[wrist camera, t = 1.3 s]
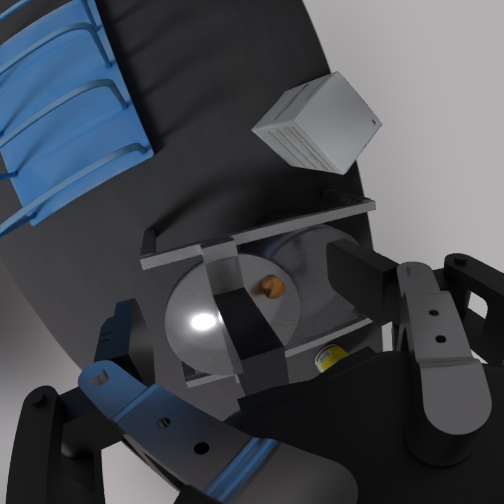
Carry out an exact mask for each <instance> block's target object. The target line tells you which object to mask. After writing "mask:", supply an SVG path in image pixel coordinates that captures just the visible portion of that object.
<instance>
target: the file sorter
mask: <svg viewBox="0 0 504 504" xmlns="http://www.w3.org/2000/svg"><path fill="white" fill-rule="evenodd" d="M30 1H32V0H21V1H19V2H18V3H16V4H15V5H13V6H12V7H11V8H9V9H8V10H6V11H5V12H4V13H2V14H1V15H0V22H1V21H2V20H3V19H5V18H6V17H8V16H9V15H10V14H12V13H13V12H15V11H16V10H18V9H19V8H21V7H22V6H24V5H25V4H27V3H29V2H30ZM0 151H1V154H2V157H3V160H4V162H5V165H6V168H7V170H8V173H5V174H0V180H3V179H8V178H11V181H12V183H13V186H14V188H15V190H16V193H17V195H18V197H19V200H20V202H21V204H22V206H23V208H22V209H20V210H19V211H18V212H16V213H15V214H14V215H13V216H11V217H10V218H9V219H7V220H6V221H5V222H4V223H2V224H1V225H0V238H1V237H3V236H4V235H6V234H8V233H9V232H11V231H13V230H14V229H16V228H18V227H20V226H21V225H23V224H25V223H27V222H29V221H30V223H31V225H32V226H34V225H36V224H38V223H40V222H41V221H43V220H44V219H45V218H47V217H48V216H50V215H51V214H53V213H54V212H56V211H57V210H59V209H61V208H62V207H64V206H65V205H67V204H68V203H70V202H72V201H73V200H75V199H77V198H78V197H80V196H82V195H83V194H85V193H87V192H88V191H90V190H92V189H93V188H95V187H97V186H99V185H100V184H102V183H104V182H106V181H107V180H109V179H111V178H113V177H115V176H117V175H118V174H120V173H122V172H124V171H126V170H128V169H130V168H132V167H134V166H136V165H138V164H140V163H142V162H144V161H146V160H148V159H150V158H152V157H154V151H153V149H152V146H151V144H150V142H149V140H148V137H147V135H146V133H145V130H144V128H143V126H142V123H141V121H140V119H139V116H138V114H137V111H136V109H135V107H134V104H133V102H132V99H131V97H130V94H129V92H128V89H127V87H126V84H125V82H124V79H123V77H122V74H121V72H120V69H119V66H118V64H117V61H116V59H115V56H114V53H113V51H112V48H111V45H110V43H109V40H108V37H107V34H106V32H105V29H104V26H103V23H102V20H101V17H100V15H99V12H98V9H97V6H96V3H95V0H73V1H71V2H69V3H67V4H65V5H63V6H61V7H60V8H58V9H56V10H54V11H52V12H51V13H49V14H47V15H45V16H44V17H42V18H40V19H39V20H37V21H36V22H34V23H32V24H31V25H29V26H28V27H26V28H25V29H23V30H22V31H20V32H19V33H17V34H16V35H14V36H13V37H12V38H10V39H9V40H7V41H6V42H5V43H3V44H2V45H1V46H0ZM24 215H27V217H25V218H24V219H22V220H20V221H18V220H19V219H20V218H22V217H23V216H24ZM16 221H18V222H16ZM15 222H16V223H15Z"/></svg>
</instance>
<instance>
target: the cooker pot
mask: <svg viewBox="0 0 504 504" xmlns="http://www.w3.org/2000/svg"><path fill="white" fill-rule="evenodd" d="M322 196H323V198H324V199H327V200H331V201H334V202H337V203H340V204H343V205H345V206H341V207H336V208H332V209H328V210H324V211H319V212H315V213H311V214H307V215H305V214H303V213H300V212H297V211H279V212H276V213H272V214H270V215H268V216H266V217H264V218H263V219H261V220H260V221H259V222H257V223H256V224H255V225H254V226H253V227H252V228H249V229H245V230H241V231H237V232H233V233H229V234H225V235H221V236H217V237H214V238H210V239H206V240H202V241H198V242H194V243H191V244H187V245H183V246H179V247H175V248H172V249H168V250H164V251H160V252H157V253H156V235H155V231H154V229H151V230H148V231H144V237H143V243H142V248H141V254H140V261H141V264H142V268H143V270H145V269H149V268H152V267H156V266H160V265H163V264H167V263H171V262H175V261H178V260H182V259H186V258H190V257H193V256H197V255H201V250H200V246H199V245H201V244H205V243H209V242H213V241H217V240H221V239H225V238H228V237H232V238H233V239H234V240H235V243H236V245H239V244H242V245H241V248H240V252H249V253H254V254H257V255H260V256H263V257H265V258H267V259H269V260H271V261H273V262H274V263H275V264H277V265H278V266H279V267H280V268H281V269H282V270H283V271H284V272H285V273H286V274H288V276H289V277H290V278H291V280H292V281H293V283H294V285H295V287H296V289H297V292H298V295H299V301H300V314H299V319H298V323H297V326H296V329H295V331H294V333H293V335H292V336H295V337H310V338H308V339H305V340H302V341H299V342H297V343H294V344H291V345H289V346H286V347H284V349H285V356H286V357H289V356H291V355H294V354H297V353H299V352H302V351H305V350H307V349H310V348H312V347H315V346H318V345H320V344H323V343H325V342H327V341H330V340H332V339H335V338H337V337H340V336H342V335H344V334H347V333H349V332H351V331H353V330H356V329H358V328H360V327H362V326H365V325H367V324H369V323H371V322H373V321H372V320H370V319H369V318H368V317H367V316H366V315H364V314H363V313H362V312H361V311H359V310H358V309H357V308H356V307H355V306H353V305H352V304H351V303H350V302H348V301H347V300H346V299H345V298H343V297H342V296H341V295H340V294H338V293H337V292H336V291H335V290H334V289H333V288H332V287H331V285H330V283H329V280H328V271H327V257H326V245H327V243H328V242H332V241H335V240H338V239H342V238H345V239H347V240H349V241H351V242H353V243H355V244H357V245H359V243H358V242H357V241H356V240H355V239H354V238H353V237H352V236H350V235H349V234H347V233H345V232H343V231H341V230H339V229H336V228H334V227H332V226H330V225H328V224H325V223H324V222H328V221H332V220H336V219H340V218H344V217H348V216H352V215H356V214H360V213H364V212H368V211H372V210H375V209H376V208H375V207H376V206H375V201H374V200H371V199H370V198H366V197H362V196H358V195H355V194H351V193H347V192H343V191H339V190H335V189H331V188H327V189H322ZM359 246H360V245H359ZM351 312H352V313H353V314H355V315H356V316H357V317H358V318H357V319H355V320H352V321H350V322H348V323H345V324H343V325H340V326H338V327H336V328H334V327H335V326H337V325H338V324H340V323H341V322H342V321H343V320H344V319H345V318H346V317H347V316H348V315H349V314H350V313H351ZM332 328H333V329H332ZM312 336H313V337H312ZM182 366H183V371H184V376H185V381H186V384H187V386H188V388H190V387H193V386H197V385H201V384H205V383H208V382H212V381H215V380H219V379H222V378H225V377H229V376H232V375H213V374H208V373H200V374H197V375H196V374H195V370H194V368H192V367H190V366H189V365H187V364H186V363H184V362H183V361H182Z"/></svg>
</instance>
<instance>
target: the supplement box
mask: <svg viewBox="0 0 504 504" xmlns="http://www.w3.org/2000/svg"><path fill="white" fill-rule="evenodd" d="M381 125H382V123H381V122H380V121H379V119H378V118H377V117H376V115H375V114H374V113H373V111H372V110H371V109H370V108H369V107H368V105H367V104H366V103H365V101H364V100H363V99H362V98H361V97H360V96H359V94H358V93H357V92H356V91H355V90H354V89H353V87H352V86H351V85H350V84H349V83H348V82H347V81H346V79H345V78H344V77H343V76H342V75H341V74H340V73H339V72H334V73H331V74H329V75H326V76H323V77H321V78H318V79H315V80H313V81H310V82H308V83H305V84H303V85H300V86H298V87H295V88H293V89H290V90H288V91H286V92H285V93H284V94H283V95H282V96H281V97H280V99H279V100H278V101H277V102H276V103H275V104H274V106H273V107H272V108H271V109H270V110H269V111H268V112H267V113H266V114H265V115H264V116H263V118H262V119H261V120H260V121H259V122H258V123H257V124H256V125H255V126H254V127H253V128H252V129H251V130H252V131H253V132H254V133H255V134H256V135H257V136H259V137H260V138H261V139H262V140H263V141H264V142H265V143H266V144H268V145H269V146H270V147H271V148H272V149H273V150H274V151H275V152H276V153H277V154H278V155H279V156H281V157H282V158H283V159H284V160H285V161H286V162H287V163H288V164H289V165H290V166H295V167H300V168H307V169H314V170H321V171H327V172H333V173H338V174H342V175H344V174H345V173H346V172H347V171H348V169H349V168H350V167H351V165H352V164H353V163H354V161H355V160H356V159H357V157H358V156H359V155H360V153H361V152H362V151H363V149H364V148H365V147H366V146H367V144H368V143H369V141H370V140H371V139H372V137H373V136H374V134H375V133H376V132H377V131H378V129H379V128H380V127H381Z"/></svg>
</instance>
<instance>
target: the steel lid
mask: <svg viewBox="0 0 504 504" xmlns="http://www.w3.org/2000/svg"><path fill="white" fill-rule="evenodd" d="M199 246H200V250H201V254H202V258H203V261H200V262H199V263H197V264H196V265H194V266H193V267H191V268H190V269H189V270H188V271H187V272H185V273H184V274H183V275H182V276H181V278H180V279H179V280H178V281H177V283H176V284H175V285H174V287H173V288H172V290H171V292H170V294H169V297H168V300H167V303H166V307H165V329H166V335H167V339H168V342H169V344H170V346H171V348H172V349H173V351H174V352H175V354H176V355H177V356H178V357H179V358H180V359H181V360H182V361H183V362H184V363H186V364H187V365H189V366H190V367H192V368H194V369H196V370H198V371H201V372H204V373H208V374H213V375H234V377H235V380H236V382H237V383H241V386H242V388H243V390H244V393H245V395H246V396H248V395H251V394H254V393H257V392H260V391H263V390H266V389H269V388H271V387H276V386H282V385H287V384H289V379H288V371H287V364H286V356H285V349H284V347H285V346H286V345H287V343H288V342H289V340H290V339H291V337H292V335H293V333H294V331H295V329H296V326H297V323H298V319H299V314H300V301H299V295H298V292H297V289H296V287H295V285H294V283H293V281H292V280H291V278H290V277H289V276H288V274H286V273H285V272H284V271H283V270H282V269H281V268H280V267H279V266H278V265H277V264H275V263H274V262H273V261H271V260H269V259H267V258H265V257H263V256H260V255H257V254H254V253H249V252H237V248H236V243H235V240H234V239H233V238H232V237H228V238H225V239H221V240H217V241H213V242H209V243H205V244H201V245H199Z"/></svg>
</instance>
